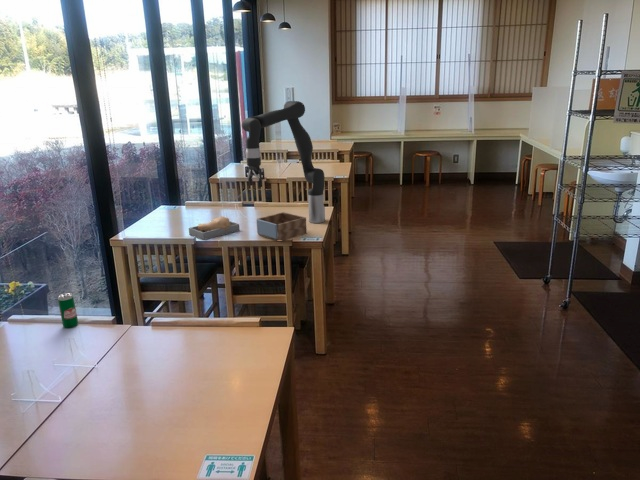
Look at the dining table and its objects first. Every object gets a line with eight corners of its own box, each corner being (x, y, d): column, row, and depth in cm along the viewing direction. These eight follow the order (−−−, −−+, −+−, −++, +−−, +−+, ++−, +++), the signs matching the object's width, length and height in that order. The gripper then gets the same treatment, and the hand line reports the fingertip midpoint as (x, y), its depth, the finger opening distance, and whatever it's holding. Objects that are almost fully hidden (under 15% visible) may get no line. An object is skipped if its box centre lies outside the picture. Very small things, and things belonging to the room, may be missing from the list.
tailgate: (259, 232, 285) (258, 219, 282) (277, 238, 273) (277, 224, 271) (257, 233, 284) (256, 219, 282) (276, 238, 272) (275, 224, 270)
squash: (230, 234, 288) (226, 220, 283) (197, 238, 290) (192, 224, 286) (234, 226, 297) (230, 212, 293) (202, 230, 300) (198, 216, 296)
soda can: (66, 330, 178) (60, 299, 175) (60, 325, 181) (54, 295, 178) (80, 324, 182) (75, 294, 178) (74, 321, 185) (69, 291, 181)
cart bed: (284, 227, 299) (283, 212, 296) (306, 233, 286) (306, 217, 283) (258, 234, 286) (257, 218, 284) (280, 241, 273) (279, 224, 270)
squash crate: (224, 225, 306) (224, 219, 305) (239, 230, 296) (239, 224, 294) (189, 234, 290) (188, 228, 289) (203, 239, 279) (202, 233, 278)
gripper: (267, 156, 265) (269, 186, 270) (251, 154, 275) (253, 183, 279) (255, 158, 260) (257, 189, 265) (239, 156, 270) (242, 185, 274)
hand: (255, 186), depth 272 cm, fingers open, 8 cm apart
